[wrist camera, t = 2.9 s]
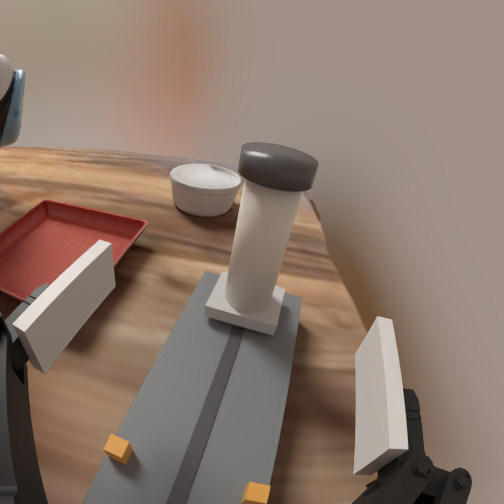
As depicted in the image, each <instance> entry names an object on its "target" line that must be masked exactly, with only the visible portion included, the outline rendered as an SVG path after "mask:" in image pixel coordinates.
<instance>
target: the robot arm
mask: <svg viewBox="0 0 504 504" xmlns="http://www.w3.org/2000/svg"><path fill="white" fill-rule="evenodd" d="M24 85H25V71H24V70H18V69H16V70H14V71H12V65H11V63H10V61H9V60H8V59H7V58H6V57H5V56H3V55H1V54H0V148H1V147H3V146H7V145H10V144H13V143H15V142H16V141H17V139H18V137H19V134H20V127H21V117H22V106H23V96H24ZM115 286H116V284H115V275H114V265H113V254H112V243H109V242H106V241H103V240H99V241H97V242H96V243H95V244H94V245H93V246H92V247H91V248H90V249H88V250H87V251H86V252H85V253H84V254H83V255H82V256H81V257H80V258H78V259H77V260H76V261H75V262H74V263H73V264H72V265H71V266H70V267H69V268H68V269H67V270H65V271H64V272H63V273H62V274H61V275H60V276H59V277H58V278H57V279H56V280H55V281H54V282H53V283H52V284H51V285H49V284H47V283H45V284H43V285H42V286H40V287H38V288H36V289H35V290H34V291H33V292H32V293H31V294H30V296H28V297H27V298H26V299H25V300H24V302H22V303H21V304H20V305H19V306H18V307H17V308H16V309H15V310H14V311H13V312H12V313H11V314H10V315H9V317H8V318H7V319H6V320H5V321H4V318H3V316H2V314H1V312H0V504H48V502H47V499H46V495H45V491H44V487H43V483H42V479H41V474H40V470H39V465H38V460H37V455H36V449H35V443H34V437H33V430H32V422H31V414H30V404H29V392H28V375H27V365H26V362H27V361H28V360H30V362H31V364H32V365H33V367H34V368H36V369H37V370H39V371H41V372H42V373H44V374H46V373H47V371H48V370H49V369H50V367H51V366H52V365H53V363H54V362H55V361H56V359H57V358H58V357H59V355H60V354H61V353H62V352H63V350H64V349H65V348H66V346H67V345H68V344H69V342H70V341H71V340H72V339H73V337H74V336H75V335H76V334H77V332H78V331H79V330H80V329H81V327H82V326H83V325H84V324H85V322H86V321H87V320H88V319H89V317H90V316H91V315H92V314H93V313H94V311H95V310H96V309H97V308H98V307H99V305H100V304H101V303H102V302H103V301H104V299H105V298H106V297H107V296H108V295H109V293H110V292H111V291H112V290H113V289H114V288H115ZM355 369H356V428H355V456H354V474H355V475H370V476H371V475H372V474H374V473H375V472H377V471H378V478H377V479H376V480H374V481H372V482H371V483H369V484H368V485H366V487H368V488H367V489H366V490H365V491H364V492H363V493H362V494H361V495H360V496H359V497H358V498H357V499H356V500H355V501H354V502H353V503H352V504H466V502H467V499H468V496H469V493H470V490H471V485H472V480H471V476H470V474H469V472H468V471H467V470H465V469H463V468H457V469H454V470H453V471H451V472H448V471H445V470H443V469H440V468H437V467H435V466H433V463H432V461H431V460H430V458H429V457H428V456H426V455H425V451H424V442H423V432H422V423H421V416H420V413H419V412H420V407H419V401H418V398H417V396H416V394H415V392H414V390H411V389H404V388H403V386H402V379H401V371H400V365H399V358H398V352H397V346H396V340H395V335H394V329H393V323H392V320H391V319H387V318H383V317H378V316H377V318H376V320H375V322H374V323H373V325H372V327H371V329H370V330H369V332H368V334H367V335H366V337H365V339H364V340H363V342H362V344H361V345H360V347H359V349H358V350H357V352H356V354H355Z"/></svg>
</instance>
